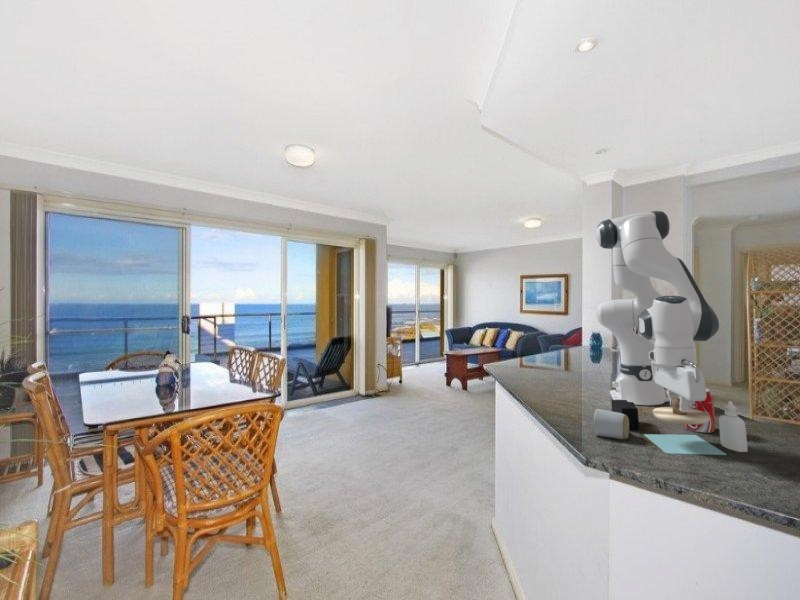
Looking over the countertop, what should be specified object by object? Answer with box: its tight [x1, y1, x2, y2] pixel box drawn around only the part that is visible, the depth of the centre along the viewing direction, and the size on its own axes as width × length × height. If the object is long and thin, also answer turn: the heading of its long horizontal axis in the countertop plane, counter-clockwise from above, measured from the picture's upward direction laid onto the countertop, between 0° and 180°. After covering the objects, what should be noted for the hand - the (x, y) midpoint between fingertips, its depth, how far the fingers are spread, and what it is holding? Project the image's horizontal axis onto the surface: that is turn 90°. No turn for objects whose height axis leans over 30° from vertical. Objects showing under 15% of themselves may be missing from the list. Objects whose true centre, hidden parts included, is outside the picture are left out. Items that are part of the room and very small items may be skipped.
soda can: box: [684, 388, 716, 434], centre depth 108 cm, size 7×7×12 cm
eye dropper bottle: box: [718, 400, 749, 453], centre depth 94 cm, size 4×6×12 cm
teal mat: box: [642, 433, 728, 456], centre depth 98 cm, size 14×13×1 cm
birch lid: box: [652, 398, 709, 425], centre depth 99 cm, size 12×12×4 cm
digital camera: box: [611, 399, 640, 431], centre depth 115 cm, size 10×5×7 cm, turn 166°
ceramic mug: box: [593, 408, 630, 440], centre depth 108 cm, size 11×8×8 cm
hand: (679, 409), depth 99 cm, fingers closed on birch lid, 3 cm apart
